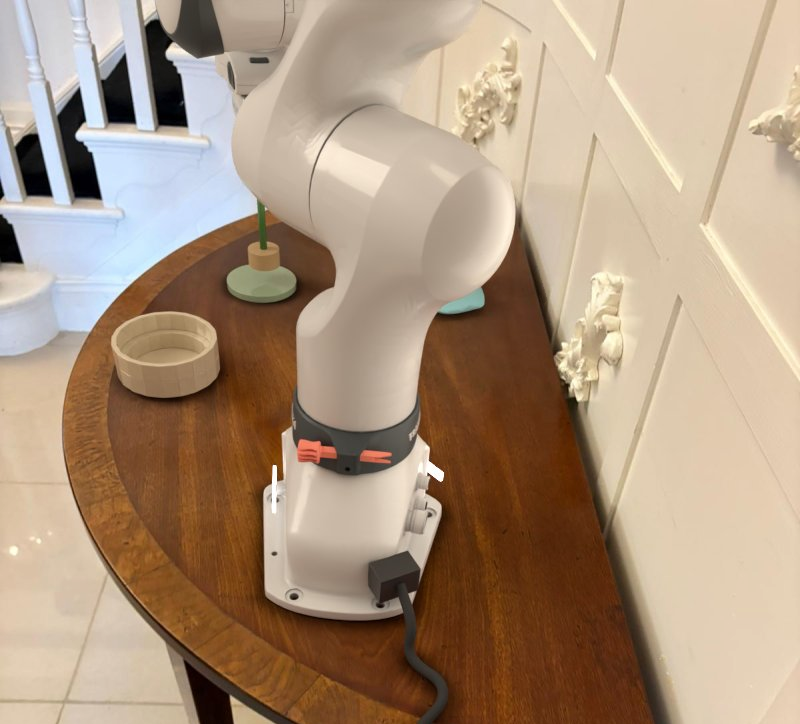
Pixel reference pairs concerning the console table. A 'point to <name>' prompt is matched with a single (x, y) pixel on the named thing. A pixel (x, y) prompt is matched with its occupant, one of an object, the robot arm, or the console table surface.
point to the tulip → (263, 247)
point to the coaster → (261, 284)
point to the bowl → (166, 354)
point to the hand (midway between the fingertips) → (259, 175)
